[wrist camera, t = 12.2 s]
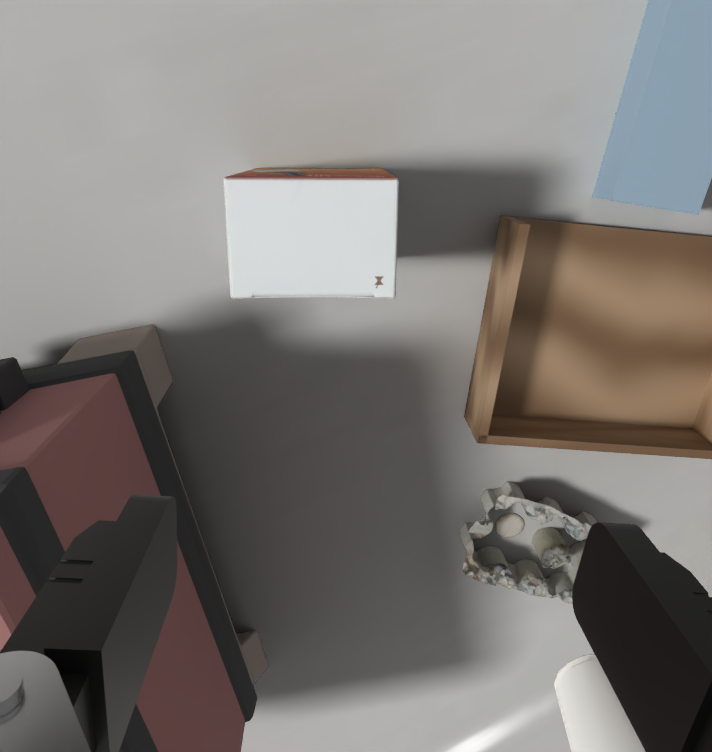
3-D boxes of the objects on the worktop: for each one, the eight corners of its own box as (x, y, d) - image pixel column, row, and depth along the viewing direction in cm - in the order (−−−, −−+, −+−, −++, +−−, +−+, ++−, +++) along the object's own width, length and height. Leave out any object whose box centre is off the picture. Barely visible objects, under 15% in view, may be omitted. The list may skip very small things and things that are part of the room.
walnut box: (500, 215, 37) (519, 223, 33) (759, 240, 38) (805, 251, 34) (464, 416, 42) (477, 443, 38) (692, 432, 43) (727, 459, 39)
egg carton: (445, 539, 46) (455, 574, 42) (498, 465, 44) (513, 496, 40) (554, 587, 48) (573, 625, 44) (610, 519, 46) (635, 553, 42)
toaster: (140, 280, 37) (-60, 422, 18) (269, 665, 50) (231, 988, 31) (-146, 337, 38) (-631, 533, 19) (52, 704, 50) (-117, 1044, 31)
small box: (384, 167, 35) (404, 176, 25) (381, 260, 37) (399, 301, 28) (250, 166, 35) (220, 174, 25) (255, 259, 37) (229, 300, 27)
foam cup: (661, 681, 52) (760, 841, 40) (577, 732, 54) (647, 900, 42) (602, 623, 49) (690, 777, 37) (516, 680, 52) (573, 844, 39)
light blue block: (653, -26, 32) (684, -43, 30) (744, -8, 33) (782, -22, 30) (589, 196, 37) (611, 200, 34) (670, 209, 37) (698, 214, 34)
